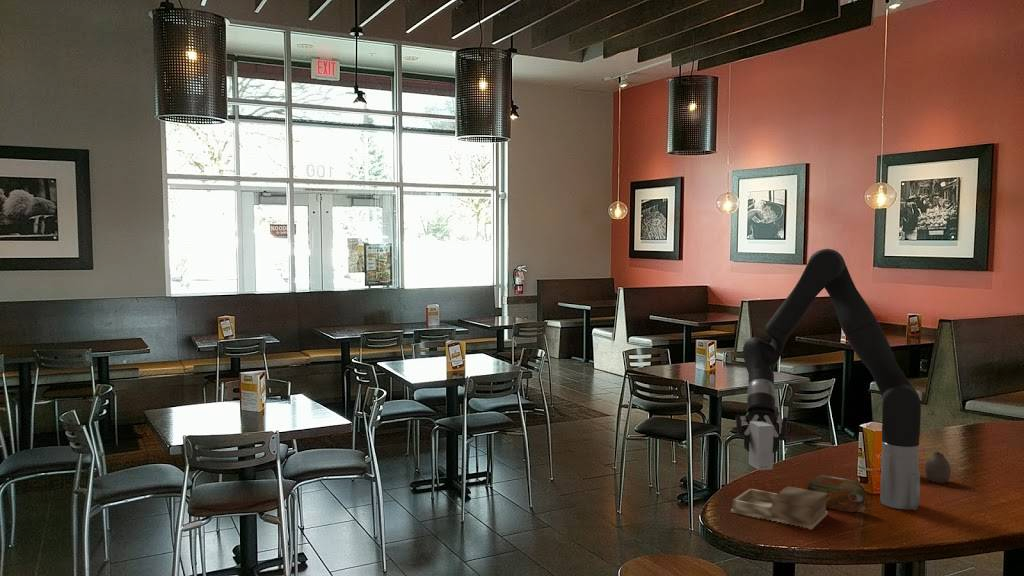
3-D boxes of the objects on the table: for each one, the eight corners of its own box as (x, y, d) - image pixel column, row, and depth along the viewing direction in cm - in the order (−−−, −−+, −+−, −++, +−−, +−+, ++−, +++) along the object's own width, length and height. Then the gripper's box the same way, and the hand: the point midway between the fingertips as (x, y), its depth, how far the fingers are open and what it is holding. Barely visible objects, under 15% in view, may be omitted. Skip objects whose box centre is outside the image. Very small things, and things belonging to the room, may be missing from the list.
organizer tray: (827, 514, 203) (827, 492, 202) (811, 529, 192) (812, 506, 191) (749, 498, 215) (750, 478, 215) (730, 512, 204) (731, 491, 204)
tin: (806, 503, 212) (807, 473, 211) (810, 500, 214) (811, 471, 214) (863, 515, 202) (864, 484, 201) (867, 512, 204) (868, 481, 204)
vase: (926, 483, 229) (926, 454, 229) (923, 477, 235) (924, 449, 235) (952, 486, 226) (953, 457, 226) (948, 479, 233) (949, 451, 232)
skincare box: (773, 469, 205) (774, 425, 204) (758, 470, 204) (759, 426, 203) (762, 463, 211) (763, 420, 210) (748, 464, 210) (748, 421, 209)
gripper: (734, 389, 215) (733, 441, 205) (788, 392, 211) (790, 445, 201) (734, 404, 221) (733, 455, 210) (787, 407, 217) (788, 460, 206)
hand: (761, 450), depth 205 cm, fingers closed on skincare box, 6 cm apart
